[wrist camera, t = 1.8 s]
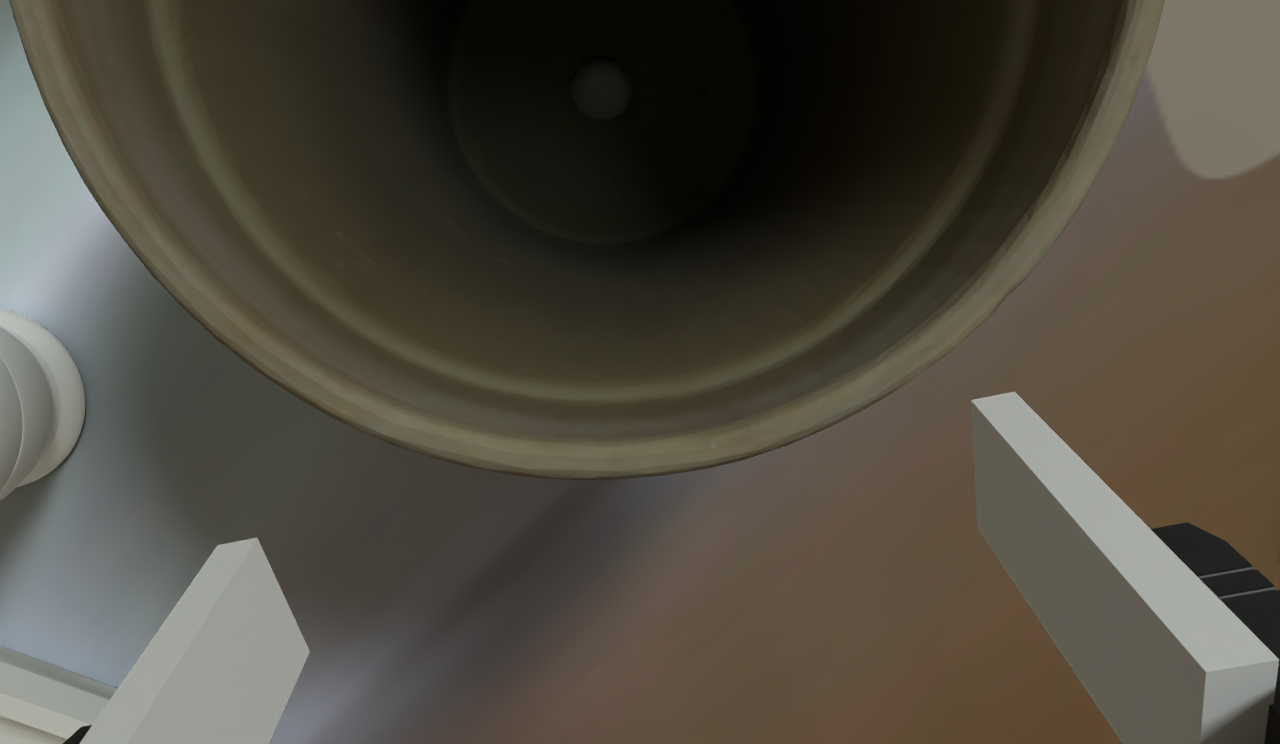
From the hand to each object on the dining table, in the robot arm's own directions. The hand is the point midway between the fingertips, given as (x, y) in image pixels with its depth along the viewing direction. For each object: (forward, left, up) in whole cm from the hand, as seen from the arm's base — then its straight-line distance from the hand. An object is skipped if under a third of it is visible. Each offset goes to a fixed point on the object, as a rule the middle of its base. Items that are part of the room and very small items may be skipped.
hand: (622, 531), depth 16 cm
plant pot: (-5, +11, -25) cm, 28 cm away
